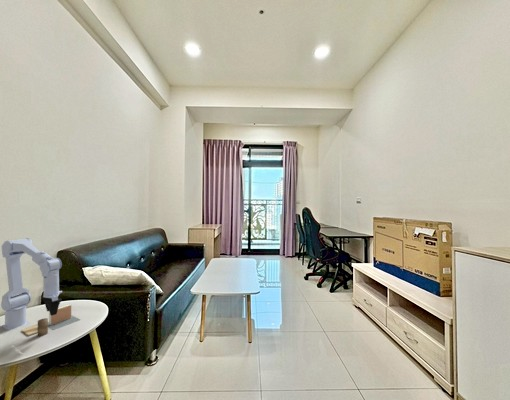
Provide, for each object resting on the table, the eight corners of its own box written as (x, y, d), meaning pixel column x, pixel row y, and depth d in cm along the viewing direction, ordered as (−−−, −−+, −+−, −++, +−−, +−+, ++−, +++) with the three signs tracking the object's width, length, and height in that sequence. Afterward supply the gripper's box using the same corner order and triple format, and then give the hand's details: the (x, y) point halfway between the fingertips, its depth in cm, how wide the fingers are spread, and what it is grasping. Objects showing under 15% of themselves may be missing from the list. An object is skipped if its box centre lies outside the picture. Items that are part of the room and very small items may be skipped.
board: (21, 331, 116) (21, 329, 116) (39, 325, 122) (39, 323, 122) (28, 337, 111) (28, 334, 111) (47, 330, 117) (47, 328, 117)
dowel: (36, 335, 112) (36, 320, 113) (45, 332, 116) (45, 317, 116) (39, 337, 111) (39, 322, 111) (49, 334, 114) (49, 319, 114)
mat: (42, 324, 123) (42, 324, 123) (70, 315, 133) (70, 314, 133) (53, 331, 117) (53, 330, 117) (80, 320, 127) (80, 319, 127)
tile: (49, 324, 122) (49, 310, 123) (69, 316, 130) (69, 304, 130) (50, 325, 121) (51, 311, 121) (71, 317, 129) (71, 304, 129)
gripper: (65, 284, 114) (66, 313, 114) (58, 279, 123) (58, 306, 123) (46, 289, 109) (46, 319, 108) (40, 283, 118) (40, 311, 118)
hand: (51, 312), depth 115 cm, fingers open, 7 cm apart
